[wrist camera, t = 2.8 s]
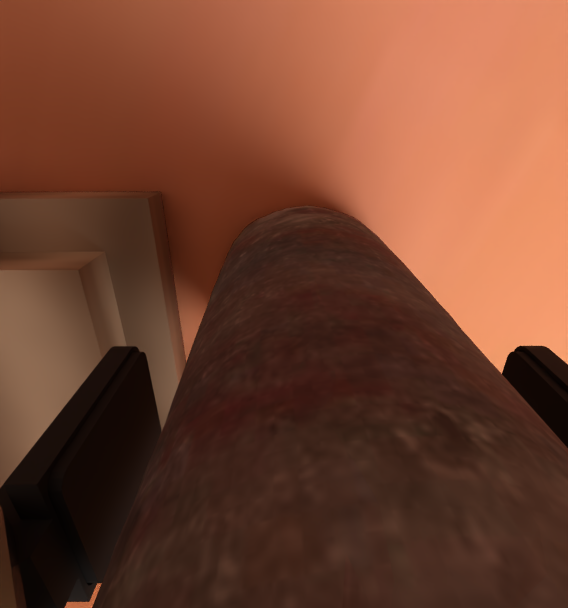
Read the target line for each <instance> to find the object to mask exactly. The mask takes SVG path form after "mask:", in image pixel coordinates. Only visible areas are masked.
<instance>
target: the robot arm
mask: <svg viewBox="0 0 568 608" xmlns="http://www.w3.org/2000/svg"><path fill="white" fill-rule="evenodd" d="M502 375H503V376H504V377H505V378H506V379H507V380H508V382H509V383H510V384H511V385H512V386H513V387H514V388H515V389H516V391H517V392H518V393H519V394H520V395H521V396H522V397H523V398H524V400H525V401H526V402H527V403H528V404H529V405H530V406H531V407H532V409H533V410H534V411H535V412H536V413H537V414H538V415H539V416H540V418H541V419H542V420H543V421H544V422H545V423H546V424H547V425H548V427H549V428H550V429H551V430H552V431H553V432H554V433H555V434H556V436H557V437H558V438H559V439H560V440H561V441H562V442H563V443H564V445H565V446H566V447H567V448H568V365H567V364H566V363H565V362H564V361H563V360H562V359H560V358H559V357H558V356H557V355H556V354H555V353H553V352H552V351H551V350H550V349H549V348H547V347H545V346H519V347H517V348H516V349H515V350H514V352H511V353H510V354H509V355H508V357H507V360H506V363H505V366H504V369H503V373H502ZM161 432H162V431H161V425H160V420H159V415H158V410H157V405H156V400H155V395H154V391H153V386H152V381H151V376H150V371H149V366H148V361H147V357H146V354H145V352H140V351H139V349H138V347H136V346H113V347H111V348H110V349H109V351H108V352H107V353H106V354H105V356H104V357H103V358H102V360H101V361H100V362H99V363H98V365H97V366H96V367H95V368H94V370H93V371H92V372H91V373H90V375H89V376H88V377H87V379H86V380H85V381H84V382H83V384H82V385H81V386H80V387H79V389H78V390H77V391H76V392H75V394H74V395H73V396H72V398H71V399H70V400H69V401H68V403H67V404H66V405H65V406H64V408H63V409H62V410H61V411H60V413H59V414H58V415H57V417H56V418H55V419H54V420H53V422H52V423H51V424H50V425H49V427H48V428H47V429H46V430H45V432H44V433H43V434H42V436H41V437H40V438H39V439H38V441H37V442H36V443H35V444H34V446H33V447H32V448H31V449H30V451H29V452H28V453H27V455H26V456H25V457H24V458H23V460H22V461H21V462H20V463H19V465H18V466H17V467H16V468H15V470H14V471H13V472H12V474H11V475H10V476H9V477H8V479H7V480H6V481H5V482H4V484H3V485H2V487H1V488H0V608H64V607H65V605H66V603H67V602H89V601H90V599H91V596H92V594H93V592H94V589H95V587H96V584H97V583H102V581H103V579H104V576H105V574H106V571H107V569H108V566H109V563H110V560H111V557H112V554H113V551H114V548H115V545H116V543H117V541H118V538H119V536H120V534H121V531H122V529H123V527H124V524H125V522H126V520H127V518H128V515H129V513H130V511H131V508H132V505H133V503H134V500H135V497H136V494H137V492H138V489H139V486H140V484H141V481H142V478H143V475H144V473H145V470H146V467H147V465H148V463H149V460H150V458H151V456H152V453H153V451H154V449H155V446H156V444H157V441H158V439H159V437H160V434H161Z"/></svg>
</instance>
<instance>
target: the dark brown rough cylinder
mask: <svg viewBox="0 0 568 608" xmlns="http://www.w3.org/2000/svg"><path fill="white" fill-rule="evenodd" d="M92 608H568V448H567V447H566V446H565V445H564V443H563V442H562V441H561V440H560V439H559V438H558V437H557V436H556V434H555V433H554V432H553V431H552V430H551V429H550V428H549V427H548V425H547V424H546V423H545V422H544V421H543V420H542V419H541V418H540V416H539V415H538V414H537V413H536V412H535V411H534V410H533V409H532V407H531V406H530V405H529V404H528V403H527V402H526V401H525V400H524V398H523V397H522V396H521V395H520V394H519V393H518V392H517V391H516V389H515V388H514V387H513V386H512V385H511V384H510V383H509V382H508V380H507V379H506V378H505V377H504V376H503V375H502V374H501V373H500V372H499V371H498V370H497V368H496V367H495V366H494V365H493V364H492V363H491V362H490V361H489V360H488V359H487V358H486V356H485V355H484V354H483V353H482V352H481V351H480V350H479V349H478V347H477V346H476V345H475V344H474V343H473V342H472V341H471V339H470V338H469V337H468V336H467V335H466V334H465V333H464V332H463V331H462V330H461V328H460V327H459V326H458V325H457V323H456V322H455V321H454V319H453V318H452V317H451V316H450V315H449V313H448V312H447V311H446V310H445V309H444V308H443V307H442V306H441V305H440V304H439V303H438V302H437V301H436V299H435V298H434V297H433V296H432V295H431V293H430V292H429V291H428V290H427V289H426V288H425V287H424V286H423V285H422V283H421V282H420V281H419V280H418V279H417V278H416V277H415V276H414V275H413V273H412V272H411V271H410V270H409V269H408V268H407V267H406V265H405V264H404V263H403V262H402V261H401V260H400V259H399V258H398V257H397V256H396V255H395V254H394V253H393V252H392V251H391V250H390V249H389V248H388V247H387V246H386V245H385V244H384V243H383V241H382V240H381V239H380V238H379V237H378V236H377V235H376V234H375V233H373V232H372V231H371V230H370V229H368V228H367V227H366V226H365V225H363V224H362V223H361V222H360V221H358V220H356V219H355V218H353V217H351V216H348V215H346V214H344V213H340V212H337V211H333V210H330V209H326V208H322V207H314V206H301V207H293V208H286V209H283V210H281V211H276V212H274V213H271V214H269V215H267V216H265V217H262V218H260V219H257V220H255V221H254V222H252V223H251V224H250V225H248V226H247V227H246V228H245V229H244V230H243V231H242V233H241V234H240V235H239V236H238V238H237V239H236V240H235V241H234V243H233V245H232V247H231V249H230V251H229V253H228V255H227V257H226V260H225V262H224V265H223V267H222V269H221V271H220V274H219V276H218V279H217V282H216V284H215V286H214V289H213V291H212V294H211V297H210V301H209V303H208V306H207V308H206V311H205V313H204V316H203V319H202V321H201V324H200V326H199V329H198V332H197V335H196V337H195V340H194V343H193V346H192V349H191V351H190V354H189V357H188V360H187V363H186V366H185V368H184V371H183V374H182V377H181V379H180V382H179V385H178V388H177V390H176V393H175V396H174V398H173V401H172V404H171V407H170V410H169V413H168V416H167V419H166V423H165V425H164V427H163V430H162V432H161V434H160V437H159V439H158V441H157V444H156V446H155V449H154V451H153V453H152V456H151V458H150V460H149V463H148V465H147V467H146V470H145V473H144V475H143V478H142V481H141V484H140V486H139V489H138V492H137V494H136V497H135V500H134V503H133V505H132V508H131V511H130V513H129V515H128V518H127V520H126V522H125V524H124V527H123V529H122V531H121V534H120V536H119V538H118V541H117V543H116V545H115V548H114V551H113V554H112V557H111V560H110V563H109V566H108V569H107V571H106V574H105V576H104V579H103V581H102V584H101V587H100V589H99V592H98V594H97V597H96V599H95V602H94V605H93V607H92Z"/></svg>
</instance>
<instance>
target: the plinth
mask: <svg viewBox="0 0 568 608" xmlns="http://www.w3.org/2000/svg"><path fill="white" fill-rule="evenodd" d="M113 346H136V347H138V349H139V351H140V352H145V354H146V357H147V361H148V366H149V371H150V376H151V381H152V386H153V391H154V395H155V400H156V405H157V410H158V415H159V420H160V425H161V431H162V430H163V427H164V425H165V423H166V419H167V416H168V413H169V410H170V407H171V404H172V401H173V398H174V396H175V393H176V390H177V388H178V385H179V382H180V379H181V377H182V374H183V371H184V368H185V366H186V359H185V352H184V345H183V338H182V332H181V325H180V318H179V311H178V305H177V298H176V291H175V284H174V278H173V271H172V264H171V257H170V251H169V244H168V237H167V230H166V224H165V217H164V210H163V203H162V197H161V192H0V488H1V487H2V485H3V484H4V482H5V481H6V480H7V479H8V477H9V476H10V475H11V474H12V472H13V471H14V470H15V468H16V467H17V466H18V465H19V463H20V462H21V461H22V460H23V458H24V457H25V456H26V455H27V453H28V452H29V451H30V449H31V448H32V447H33V446H34V444H35V443H36V442H37V441H38V439H39V438H40V437H41V436H42V434H43V433H44V432H45V430H46V429H47V428H48V427H49V425H50V424H51V423H52V422H53V420H54V419H55V418H56V417H57V415H58V414H59V413H60V411H61V410H62V409H63V408H64V406H65V405H66V404H67V403H68V401H69V400H70V399H71V398H72V396H73V395H74V394H75V392H76V391H77V390H78V389H79V387H80V386H81V385H82V384H83V382H84V381H85V380H86V379H87V377H88V376H89V375H90V373H91V372H92V371H93V370H94V368H95V367H96V366H97V365H98V363H99V362H100V361H101V360H102V358H103V357H104V356H105V354H106V353H107V352H108V351H109V349H110V348H111V347H113Z"/></svg>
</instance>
